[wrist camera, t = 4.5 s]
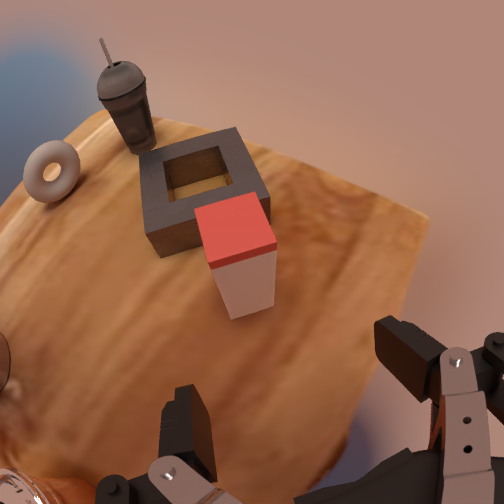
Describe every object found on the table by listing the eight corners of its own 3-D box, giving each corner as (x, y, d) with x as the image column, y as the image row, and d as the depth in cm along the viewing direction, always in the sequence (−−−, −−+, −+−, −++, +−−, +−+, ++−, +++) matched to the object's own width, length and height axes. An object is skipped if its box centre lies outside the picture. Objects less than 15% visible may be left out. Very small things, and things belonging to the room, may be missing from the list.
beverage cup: (142, 165, 40) (97, 48, 23) (114, 154, 42) (70, 52, 25) (173, 136, 43) (143, 24, 26) (144, 128, 45) (111, 29, 28)
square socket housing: (270, 225, 33) (270, 196, 29) (160, 258, 32) (145, 233, 27) (238, 154, 39) (235, 126, 35) (150, 180, 38) (138, 154, 34)
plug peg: (273, 306, 28) (276, 241, 18) (231, 319, 28) (208, 262, 18) (259, 268, 31) (255, 191, 20) (219, 281, 30) (194, 208, 20)
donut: (85, 169, 41) (60, 124, 32) (93, 177, 40) (66, 130, 31) (42, 208, 38) (10, 168, 29) (47, 218, 36) (13, 176, 28)
